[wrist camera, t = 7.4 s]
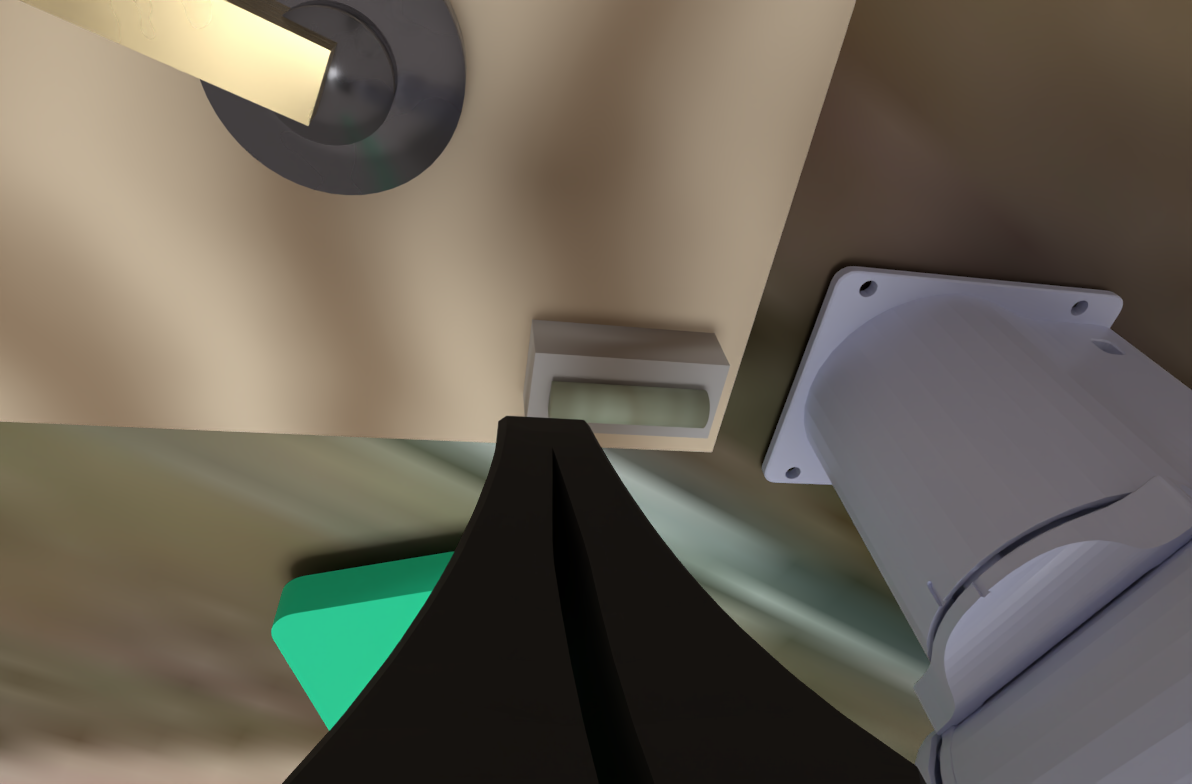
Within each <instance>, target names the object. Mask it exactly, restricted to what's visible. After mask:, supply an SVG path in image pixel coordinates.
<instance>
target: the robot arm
mask: <svg viewBox="0 0 1192 784" xmlns="http://www.w3.org/2000/svg"><path fill="white" fill-rule="evenodd" d="M867 281H871V284H870V286H869V287H868V288H867V289H865V290H861V291H859V290H860V287H861V286H862V284H864V283H865V282H867ZM1077 302H1079V303H1078V304H1077V305H1076V306H1075V307H1073V306H1074V305H1075V304H1076V303H1077ZM1072 307H1073V308H1072ZM1122 307H1123V300H1122V299H1121V297H1120V296H1118V295H1117V294H1115V293H1114V292H1111V291H1106V290H1096V289H1086V288H1075V287H1065V286H1055V285H1044V284H1034V283H1024V282H1013V281H1003V280H993V279H982V278H972V277H962V276H951V275H941V274H931V273H920V272H910V271H900V270H889V269H879V268H869V267H858V266H849V267H845V268H843V269H841V270H839V271H838V272H837V273H836V274H835V275H834V277H833V279H832V280H831V283H830V285H829V288H828V291H827V293H826V296H825V299H824V301H823V304H822V307H821V309H820V312H819V315H818V317H817V320H816V323H815V325H814V328H813V331H812V334H811V336H810V339H809V342H808V344H807V347H806V350H805V352H804V355H803V358H802V360H801V363H800V366H799V368H798V371H797V374H796V376H795V379H794V382H793V384H792V387H791V390H790V392H789V395H788V398H787V400H786V403H785V406H784V408H783V411H782V414H781V416H780V419H779V422H778V424H777V427H776V430H775V432H774V435H773V438H772V440H771V443H770V446H769V448H768V451H767V454H766V456H765V459H764V462H763V464H762V471H763V473H764V476H765V478H766V479H767V480H768V481H769V482H774V483H801V484H829V485H833V487H834V488H835V490H836V492H837V494H838V496H839V497H840V499H841V501H842V503H843V505H844V507H845V508H846V510H847V512H848V514H849V516H850V517H851V519H852V521H853V523H854V525H855V526H856V528H857V530H858V532H859V534H860V536H861V537H862V539H863V541H864V543H865V545H866V546H867V548H868V550H869V552H870V554H871V556H872V557H873V559H874V561H875V563H876V565H877V566H878V568H879V570H880V572H881V574H882V575H883V577H884V579H885V581H886V583H887V585H888V586H889V588H890V590H891V592H892V594H893V595H894V597H895V599H896V601H897V603H898V604H899V606H900V608H901V610H902V612H903V614H904V615H905V617H906V619H907V621H908V623H909V624H910V626H911V628H912V630H913V632H914V633H915V635H916V637H917V639H918V641H919V643H920V644H921V646H922V648H923V650H924V652H925V653H926V655H927V657H928V659H929V661H930V662H931V663H930V666H929V668H928V670H927V671H926V672H925V674H924V675H923V676H922V677H921V678H920V679H919V680H918V681H917V682H916V683H915V685H914V687H913V689H914V691H915V693H916V695H917V697H918V699H919V701H920V702H921V704H922V706H923V708H924V710H925V712H926V714H927V716H928V718H929V720H930V722H931V724H932V726H933V728H934V731H933V732H932V733H930V734H929V735H928V736H927V737H926V738H925V740H924V742H923V743H922V745H921V747H920V748H919V750H918V754H917V757H916V761H915V765H914V764H913V763H911V762H910V761H908V760H907V759H905V758H904V757H903V756H901V755H900V754H898V753H897V752H895V751H894V750H893V749H891V748H890V747H888V746H887V745H885V744H884V743H883V742H881V741H880V740H878V739H877V738H876V737H874V736H873V735H871V734H870V733H868V732H867V731H866V730H864V729H863V728H861V727H860V726H858V725H857V724H856V723H854V722H853V721H851V720H850V719H848V718H847V717H846V716H844V715H843V714H842V713H840V712H839V711H838V710H836V709H835V708H834V707H833V706H831V705H830V704H829V703H828V702H826V701H825V700H824V699H823V698H821V697H820V696H819V695H818V694H816V693H815V692H814V691H812V690H811V689H810V688H809V687H807V686H806V685H805V684H804V683H802V682H801V681H800V680H799V679H797V678H796V677H795V676H794V675H793V674H792V673H790V672H789V671H788V670H787V669H786V668H785V667H783V666H782V665H781V664H780V663H779V662H778V661H777V660H776V659H775V658H773V657H772V656H771V655H770V654H769V653H768V652H767V651H766V650H765V649H764V648H762V647H761V646H760V645H759V644H758V643H757V642H756V641H755V640H754V639H753V638H751V637H750V636H749V635H748V634H747V633H746V632H745V631H744V630H743V629H742V628H740V627H739V626H738V625H737V623H736V622H735V621H734V620H733V619H732V618H731V617H730V616H729V615H728V614H727V613H726V612H725V611H724V610H723V609H722V608H721V607H720V606H719V605H718V604H717V603H716V602H715V601H714V600H713V599H712V598H711V596H710V595H709V594H708V593H707V592H706V591H705V590H704V589H703V588H702V587H701V586H700V584H699V583H698V582H697V581H696V580H695V579H694V578H693V576H692V575H691V574H690V573H689V572H688V571H687V569H686V568H685V567H684V566H683V565H682V563H681V562H680V561H679V560H678V558H677V557H676V556H675V555H674V553H673V552H672V551H671V550H670V548H669V547H668V546H667V544H666V543H665V542H664V541H663V539H662V538H661V537H660V535H659V534H658V533H657V531H656V530H655V529H654V527H653V526H652V525H651V523H650V522H649V521H648V519H647V518H646V516H645V515H644V513H643V512H642V510H641V509H640V507H639V506H638V505H637V503H636V502H635V500H634V499H633V497H632V496H631V494H630V493H629V491H628V490H627V488H626V487H625V485H624V484H623V482H622V481H621V479H620V478H619V476H618V474H617V473H616V471H615V469H614V468H613V466H612V465H611V463H610V461H609V460H608V458H607V456H606V455H605V453H604V451H603V449H602V448H601V446H600V444H599V442H598V441H597V439H596V437H595V435H594V433H593V431H592V430H591V428H590V426H589V425H588V424H587V422H586V421H585V420H579V419H560V418H541V417H523V416H505V417H504V418H502V419H501V420H499V421H498V429H497V438H496V448H495V453H494V457H493V460H492V464H491V467H490V470H489V474H488V476H487V479H486V482H485V484H484V487H483V489H482V492H481V495H480V497H479V500H478V502H477V505H476V507H475V510H474V512H473V514H472V516H471V518H470V520H469V523H468V525H467V527H466V529H465V531H464V533H463V535H462V537H461V539H460V541H459V543H458V545H457V547H456V550H455V551H454V553H453V555H452V557H451V559H450V561H449V563H448V564H447V566H446V568H445V570H444V572H443V573H442V575H441V577H440V579H439V580H438V582H437V584H436V585H435V587H434V589H433V590H432V592H431V594H430V595H429V597H428V599H427V600H426V602H425V604H424V605H423V607H422V608H421V610H420V611H419V613H418V614H417V616H416V617H415V619H414V620H413V622H412V623H411V625H410V626H409V628H408V629H407V631H406V632H405V634H404V635H403V637H402V638H401V640H400V641H399V643H398V644H397V645H396V647H395V648H394V650H393V651H392V652H391V654H390V655H389V657H388V658H387V659H386V661H385V662H384V663H383V665H382V666H381V667H380V668H379V670H378V671H377V672H376V674H375V675H374V676H373V677H372V679H371V680H370V681H369V682H368V684H367V685H366V686H365V688H364V689H363V690H362V691H361V693H360V694H359V695H358V697H357V698H356V699H355V700H354V702H353V703H352V704H351V705H350V707H349V708H348V709H347V711H346V712H345V713H344V714H343V715H342V717H341V718H340V719H339V720H338V721H337V723H336V724H335V725H334V726H333V727H332V728H331V730H330V731H329V732H328V733H327V734H326V735H325V736H324V737H323V738H322V740H321V741H320V742H319V743H318V744H317V745H316V746H315V747H314V749H313V750H312V751H311V752H310V753H309V754H308V755H307V756H306V757H305V759H304V760H303V761H302V762H301V763H300V764H299V765H298V766H297V767H296V769H295V770H294V771H293V772H292V773H291V774H290V775H289V776H288V777H287V779H286V780H285V781H284V782H283V783H282V784H1192V390H1191V389H1190V388H1188V387H1187V386H1186V385H1184V384H1183V383H1182V382H1180V381H1179V380H1178V379H1176V378H1175V377H1174V376H1172V375H1171V374H1170V373H1168V372H1167V371H1166V370H1164V369H1163V368H1162V367H1160V366H1159V365H1158V364H1156V363H1155V362H1154V361H1152V360H1151V359H1150V358H1149V357H1147V356H1146V355H1145V354H1143V353H1142V352H1141V351H1139V350H1138V349H1137V348H1135V347H1134V346H1133V345H1131V344H1130V343H1129V342H1127V341H1126V340H1125V339H1123V338H1122V337H1121V336H1119V335H1118V334H1117V333H1115V332H1114V331H1113V330H1111V329H1110V327H1111V326H1112V324H1113V322H1114V321H1115V319H1116V318H1117V316H1118V315H1119V313H1120V311H1121V309H1122ZM793 467H795V468H794V469H793V470H791V471H787V470H788V469H790V468H793Z"/></svg>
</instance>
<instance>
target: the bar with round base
mask: <svg viewBox="0 0 1192 784" xmlns="http://www.w3.org/2000/svg"><path fill="white" fill-rule="evenodd" d="M19 1H22V2H24V3H26V4H29V5H31V6H33V7H36V8H38V9H40V10H42V11H45V12H47V13H49V14H52V15H54V16H56V17H59V18H61V19H63V20H65V21H68V22H70V23H72V24H75V25H77V26H79V27H82V28H84V29H86V30H88V31H91V32H93V33H95V34H98V35H100V36H102V37H105V38H107V39H109V40H111V41H114V42H116V43H118V44H121V45H123V46H125V47H127V48H130V49H132V50H134V51H137V52H139V53H141V54H144V55H146V56H148V57H150V58H153V59H155V60H157V61H160V62H162V63H164V64H167V65H169V66H171V67H173V68H176V69H178V70H180V71H183V72H185V73H187V74H190V75H192V76H194V77H196V78H199V79H200V82H201V84H202V87H203V89H204V91H205V94H206V96H207V98H208V100H209V102H210V104H211V106H212V108H213V109H214V111H215V113H216V115H217V116H218V118H219V119H220V120H221V122H222V123H223V125H224V126H225V128H226V129H227V130H228V132H229V133H230V134H231V135H232V136H233V137H234V138H235V140H236V141H237V142H238V143H239V144H240V145H241V146H242V147H243V148H244V149H245V150H246V151H247V152H248V153H249V154H250V155H252V156H253V157H254V158H255V159H256V160H258V161H259V162H260V163H262V164H263V165H264V166H266V167H267V168H269V169H270V170H272V171H274V172H275V173H277V174H278V175H280V176H282V177H284V178H286V179H288V180H290V181H292V182H294V183H296V184H298V185H301V186H304V187H307V188H310V189H313V190H317V191H321V192H326V193H330V194H339V195H367V194H373V193H379V192H383V191H386V190H390V189H393V188H396V187H398V186H400V185H402V184H405V183H407V182H409V181H410V180H412V179H414V178H415V177H417V176H418V175H420V174H421V173H422V172H424V171H425V170H426V169H427V168H428V167H430V166H431V165H432V164H433V163H434V161H435V160H436V159H437V158H438V157H439V156H440V155H441V154H442V152H443V151H444V149H445V148H446V146H447V145H448V143H449V142H450V140H451V138H452V136H453V134H454V132H455V130H456V128H457V125H458V121H459V118H460V115H461V112H462V107H463V102H464V96H465V86H466V68H467V66H466V52H465V46H464V41H463V35H462V31H461V28H460V25H459V22H458V19H457V16H456V13H455V11H454V9H453V7H452V5H451V2H450V0H19Z"/></svg>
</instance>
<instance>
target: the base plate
mask: <svg viewBox="0 0 1192 784" xmlns="http://www.w3.org/2000/svg"><path fill="white" fill-rule="evenodd" d="M450 2H451V5H452V7H453V9H454V11H455V13H456V16H457V19H458V22H459V25H460V28H461V31H462V35H463V41H464V46H465V52H466V66H467V68H466V86H465V96H464V102H463V107H462V112H461V115H460V118H459V121H458V125H457V128H456V130H455V132H454V134H453V136H452V138H451V140H450V142H449V143H448V145H447V146H446V148H445V149H444V151H443V152H442V154H441V155H440V156H439V157H438V158H437V159H436V160H435V161H434V163H433V164H432V165H431V166H430V167H428V168H427V169H426V170H425V171H424V172H422V173H421V174H420V175H418V176H417V177H415V178H414V179H412V180H410V181H409V182H407V183H405V184H402V185H400V186H398V187H396V188H393V189H390V190H386V191H383V192H379V193H373V194H367V195H339V194H330V193H326V192H321V191H317V190H313V189H310V188H307V187H304V186H301V185H298V184H296V183H294V182H292V181H290V180H288V179H286V178H284V177H282V176H280V175H278V174H277V173H275V172H274V171H272V170H270V169H269V168H267V167H266V166H264V165H263V164H262V163H260V162H259V161H258V160H256V159H255V158H254V157H253V156H252V155H250V154H249V153H248V152H247V151H246V150H245V149H244V148H243V147H242V146H241V145H240V144H239V143H238V142H237V141H236V140H235V138H234V137H233V136H232V135H231V134H230V133H229V132H228V130H227V129H226V128H225V126H224V125H223V123H222V122H221V120H220V119H219V118H218V116H217V115H216V113H215V111H214V109H213V108H212V106H211V104H210V102H209V100H208V98H207V96H206V94H205V91H204V89H203V87H202V84H201V82H200V79H199V78H196V77H194V76H192V75H190V74H187V73H185V72H183V71H180V70H178V69H176V68H173V67H171V66H169V65H167V64H164V63H162V62H160V61H157V60H155V59H153V58H150V57H148V56H146V55H144V54H141V53H139V52H137V51H134V50H132V49H130V48H127V47H125V46H123V45H121V44H118V43H116V42H114V41H111V40H109V39H107V38H105V37H102V36H100V35H98V34H95V33H93V32H91V31H88V30H86V29H84V28H82V27H79V26H77V25H75V24H72V23H70V22H68V21H65V20H63V19H61V18H59V17H56V16H54V15H52V14H49V13H47V12H45V11H42V10H40V9H38V8H36V7H33V6H31V5H29V4H26V3H24V2H22V1H19V0H0V421H4V422H27V423H50V424H73V425H96V426H119V427H142V428H165V429H189V430H212V431H235V432H258V433H281V434H304V435H327V436H350V437H373V438H396V439H419V440H442V441H465V442H488V443H496V438H497V429H498V421H499V420H501V419H502V418H504V417H505V416H523V417H541V418H560V419H579V420H585V421H586V422H587V424H588V425H589V426H590V428H591V430H592V431H593V433H594V435H595V437H596V439H597V441H598V442H599V444H600V446H601V447H603V448H626V449H649V450H672V451H695V452H712V451H713V447H714V444H715V441H716V438H717V435H718V432H719V429H720V426H721V422H722V419H723V416H724V413H725V410H726V407H727V404H728V400H729V397H730V394H731V391H732V388H733V385H734V382H735V379H736V375H737V372H738V369H739V366H740V363H741V360H742V357H743V353H744V350H745V347H746V344H747V341H748V338H749V335H750V332H751V328H752V325H753V322H754V319H755V316H756V313H757V310H758V306H759V303H760V300H761V297H762V294H763V291H764V288H765V285H766V281H767V278H768V275H769V272H770V269H771V266H772V263H773V259H774V256H775V253H776V250H777V247H778V244H779V241H780V237H781V234H782V231H783V228H784V225H785V222H786V219H787V216H788V212H789V209H790V206H791V203H792V200H793V197H794V194H795V190H796V187H797V184H798V181H799V178H800V175H801V172H802V169H803V165H804V162H805V159H806V156H807V153H808V150H809V147H810V143H811V140H812V137H813V134H814V131H815V128H816V125H817V122H818V118H819V115H820V112H821V109H822V106H823V103H824V100H825V96H826V93H827V90H828V87H829V84H830V81H831V78H832V75H833V71H834V68H835V65H836V62H837V59H838V56H839V53H840V49H841V46H842V43H843V40H844V37H845V34H846V31H847V27H848V24H849V21H850V18H851V15H852V12H853V9H854V6H855V2H856V0H450Z"/></svg>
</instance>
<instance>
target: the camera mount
mask: <svg viewBox="0 0 1192 784" xmlns="http://www.w3.org/2000/svg"><path fill="white" fill-rule="evenodd" d="M453 553H454V551H452V552H446V553H440V554H434V555H428V556H422V557H416V558H410V559H404V560H397V561H391V562H385V563H379V564H373V565H367V566H361V567H355V568H349V569H343V570H336V571H330V572H324V573H318V574H312V575H306V576H301V577H298V578H295V579H293V580H291V581H290V582H288V583H287V584H286V585H285V587H284V588H283V591H282V594H281V598H280V601H279V605H278V608H277V612H276V616H275V619H274V623H273V626H272V630H271V634H272V638H273V640H274V641H275V643H276V645H277V646H278V648H279V649H280V651H281V653H282V654H283V656H284V658H285V659H286V661H287V663H288V664H289V666H290V667H291V669H292V671H293V672H294V674H295V676H296V677H297V679H298V680H299V682H300V684H301V685H302V687H303V689H304V690H305V692H306V694H307V695H308V697H309V698H310V700H311V702H312V703H313V705H314V707H315V708H316V710H317V711H318V713H319V715H320V716H321V718H322V720H323V721H324V723H325V725H326V726H327V728H328V729H329V731H330V730H331V728H332V727H333V726H334V725H335V724H336V723H337V721H338V720H339V719H340V718H341V717H342V715H343V714H344V713H345V712H346V711H347V709H348V708H349V707H350V705H351V704H352V703H353V702H354V700H355V699H356V698H357V697H358V695H359V694H360V693H361V691H362V690H363V689H364V688H365V686H366V685H367V684H368V682H369V681H370V680H371V679H372V677H373V676H374V675H375V674H376V672H377V671H378V670H379V668H380V667H381V666H382V665H383V663H384V662H385V661H386V659H387V658H388V657H389V655H390V654H391V652H392V651H393V650H394V648H395V647H396V645H397V644H398V643H399V641H400V640H401V638H402V637H403V635H404V634H405V632H406V631H407V629H408V628H409V626H410V625H411V623H412V622H413V620H414V619H415V617H416V616H417V614H418V613H419V611H420V610H421V608H422V607H423V605H424V604H425V602H426V600H427V599H428V597H429V595H430V594H431V592H432V590H433V589H434V587H435V585H436V584H437V582H438V580H439V579H440V577H441V575H442V573H443V572H444V570H445V568H446V566H447V564H448V563H449V561H450V559H451V557H452V555H453Z"/></svg>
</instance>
